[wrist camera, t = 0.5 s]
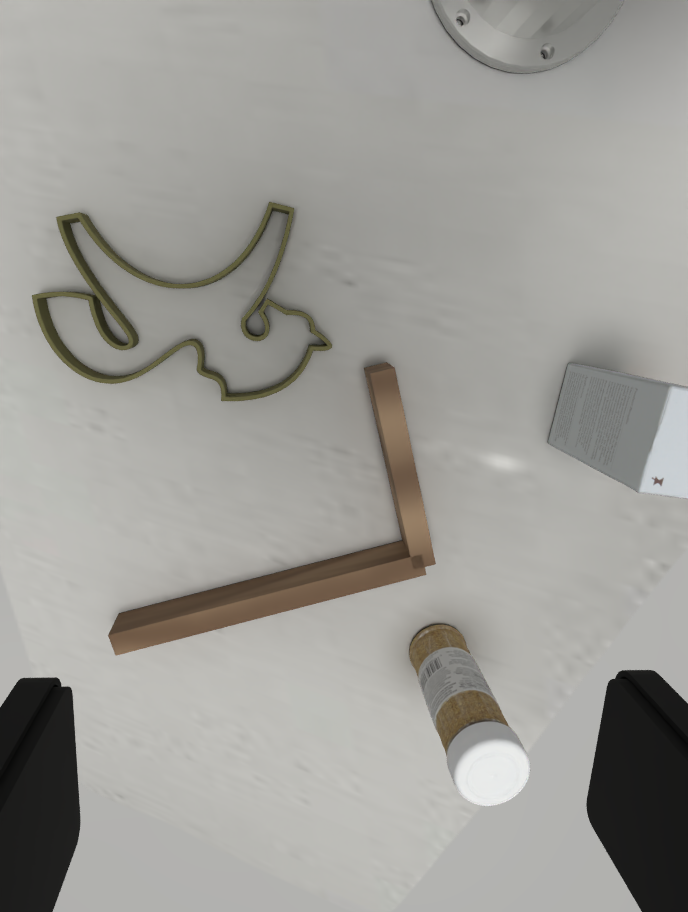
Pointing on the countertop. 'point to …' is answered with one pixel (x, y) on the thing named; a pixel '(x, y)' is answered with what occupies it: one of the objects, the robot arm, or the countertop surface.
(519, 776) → the sprinkles bottle
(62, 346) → the cookie cutter
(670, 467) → the skincare box
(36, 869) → the robot arm
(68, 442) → the countertop surface
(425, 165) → the countertop surface
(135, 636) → the walnut fence
